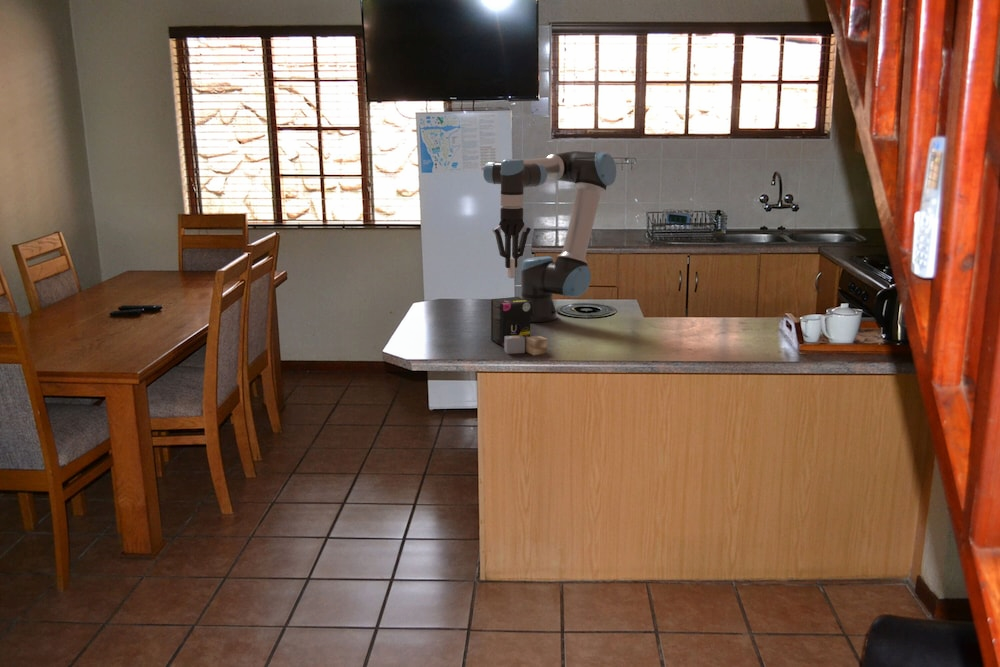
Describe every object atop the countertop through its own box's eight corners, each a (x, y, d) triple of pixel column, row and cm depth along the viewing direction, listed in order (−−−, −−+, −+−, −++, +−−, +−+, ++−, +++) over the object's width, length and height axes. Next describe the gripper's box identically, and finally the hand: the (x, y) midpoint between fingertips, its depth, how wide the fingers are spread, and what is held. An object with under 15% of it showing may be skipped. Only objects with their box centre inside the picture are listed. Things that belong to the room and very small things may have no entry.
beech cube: (538, 349, 296) (538, 334, 295) (546, 353, 292) (547, 338, 291) (525, 351, 294) (526, 336, 293) (533, 355, 290) (533, 340, 288)
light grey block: (522, 349, 296) (522, 334, 295) (524, 353, 292) (524, 337, 291) (504, 350, 295) (504, 335, 294) (506, 354, 291) (506, 338, 290)
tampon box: (502, 346, 299) (502, 304, 295) (490, 340, 307) (490, 298, 303) (531, 343, 304) (531, 301, 300) (518, 336, 312) (518, 295, 308)
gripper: (526, 205, 299) (525, 274, 305) (489, 206, 295) (489, 276, 301) (534, 207, 292) (533, 278, 298) (496, 209, 288) (496, 280, 294)
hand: (511, 277), depth 300 cm, fingers closed
